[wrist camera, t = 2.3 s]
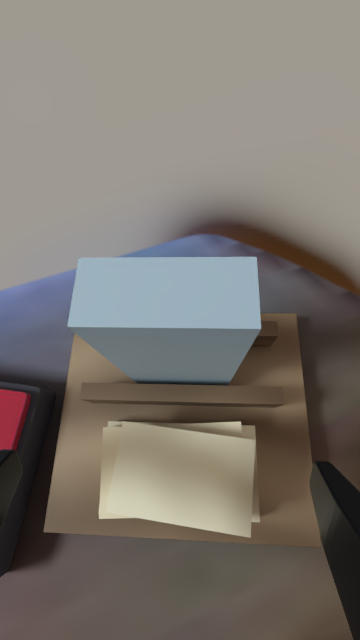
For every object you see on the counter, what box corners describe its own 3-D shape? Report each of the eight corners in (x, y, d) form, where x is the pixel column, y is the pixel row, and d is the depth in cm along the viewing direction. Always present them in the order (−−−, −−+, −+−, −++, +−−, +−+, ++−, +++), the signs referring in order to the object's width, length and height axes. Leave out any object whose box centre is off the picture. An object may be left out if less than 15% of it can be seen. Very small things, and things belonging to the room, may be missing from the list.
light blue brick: (227, 386, 21) (261, 328, 9) (138, 384, 21) (67, 327, 10) (226, 349, 21) (256, 257, 10) (141, 348, 22) (78, 257, 11)
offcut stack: (256, 520, 18) (268, 538, 15) (103, 512, 18) (84, 528, 15) (252, 423, 20) (261, 421, 17) (113, 419, 20) (97, 416, 17)
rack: (313, 540, 18) (340, 564, 15) (52, 526, 19) (21, 545, 16) (291, 319, 23) (307, 299, 20) (83, 317, 24) (64, 298, 21)
